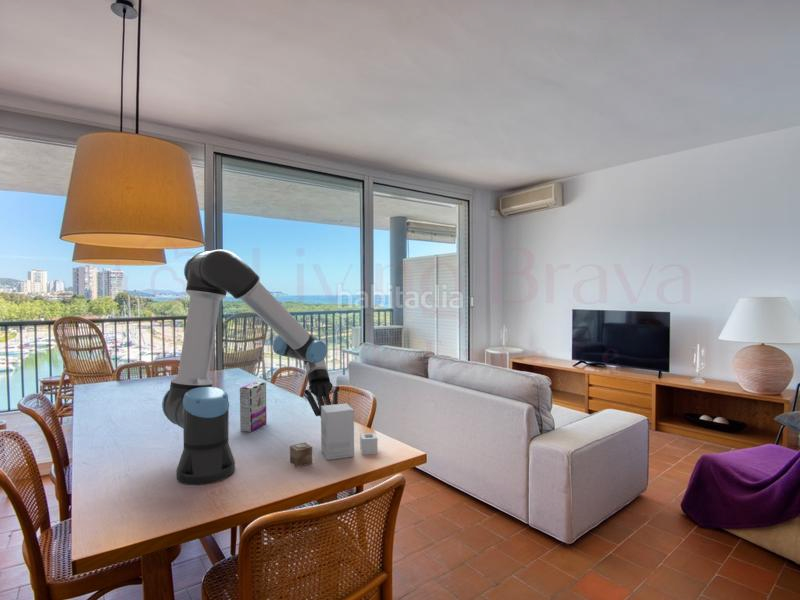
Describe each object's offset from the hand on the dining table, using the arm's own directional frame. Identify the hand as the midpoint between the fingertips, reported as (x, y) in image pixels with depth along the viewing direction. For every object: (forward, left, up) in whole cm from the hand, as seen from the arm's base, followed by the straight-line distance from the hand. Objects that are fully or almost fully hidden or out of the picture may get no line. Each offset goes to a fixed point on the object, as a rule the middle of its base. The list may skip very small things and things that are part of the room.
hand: (331, 432), depth 142 cm
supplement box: (0, -6, -5) cm, 8 cm away
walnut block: (-12, -8, -5) cm, 15 cm away
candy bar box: (-20, +33, -5) cm, 39 cm away
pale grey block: (+10, -8, -5) cm, 14 cm away
